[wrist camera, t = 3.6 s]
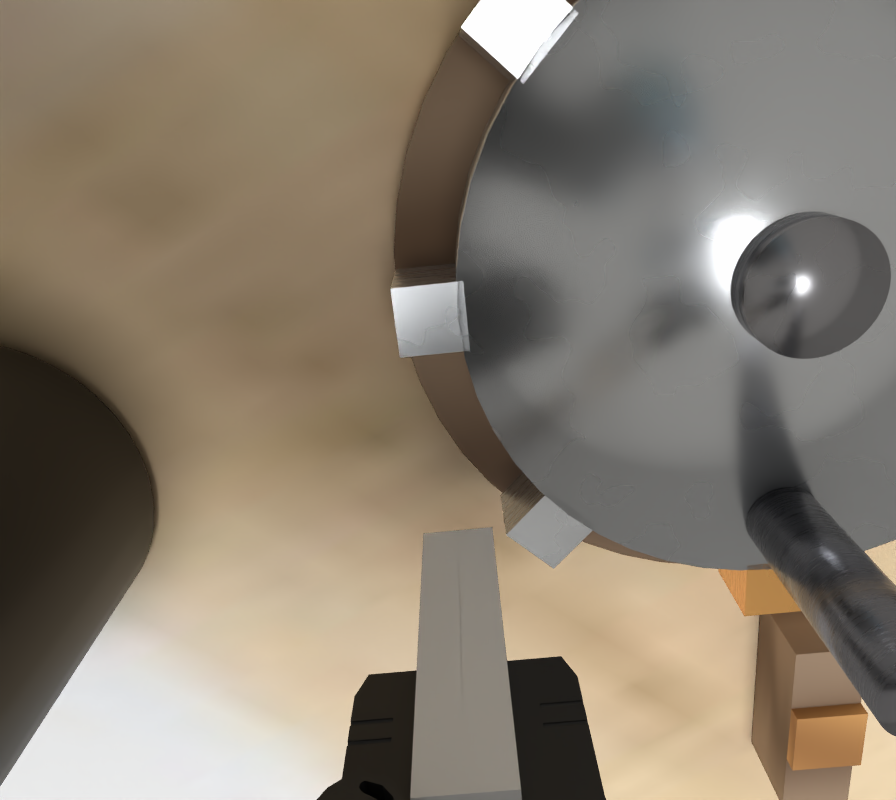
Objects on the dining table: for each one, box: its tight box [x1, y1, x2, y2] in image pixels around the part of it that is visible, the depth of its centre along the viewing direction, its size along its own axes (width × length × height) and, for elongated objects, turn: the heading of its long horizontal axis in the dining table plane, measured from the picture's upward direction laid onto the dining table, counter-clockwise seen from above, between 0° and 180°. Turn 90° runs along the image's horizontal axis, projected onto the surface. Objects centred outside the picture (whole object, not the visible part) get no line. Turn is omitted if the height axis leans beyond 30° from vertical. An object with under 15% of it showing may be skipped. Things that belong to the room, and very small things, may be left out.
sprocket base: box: [394, 0, 676, 563], centre depth 19 cm, size 18×18×1 cm
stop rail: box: [752, 611, 868, 800], centre depth 23 cm, size 6×2×3 cm, turn 6°
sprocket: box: [390, 0, 896, 736], centre depth 14 cm, size 18×18×8 cm
